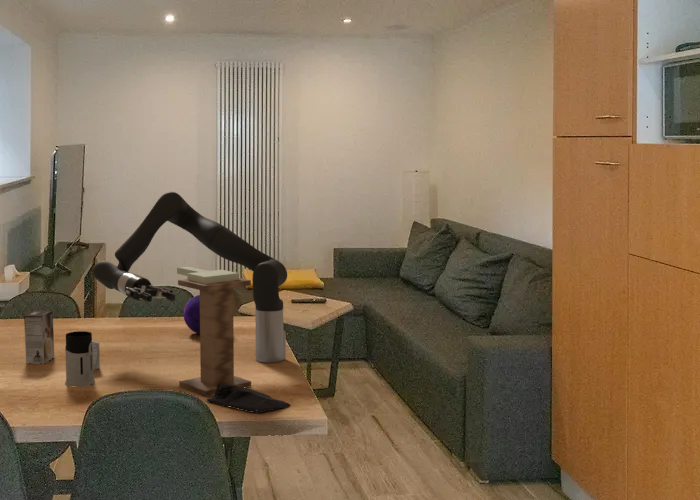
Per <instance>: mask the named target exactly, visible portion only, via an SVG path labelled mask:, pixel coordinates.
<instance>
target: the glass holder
mask: <svg viewBox="0 0 700 500" xmlns="http://www.w3.org/2000/svg"><path fill="white" fill-rule="evenodd" d="M92 341H93V333H92V332H90V331H85V330H84V331H83V330H81V331H80V330H79V331H77V330H76V331H72V332H71V331H70V332H68V333H66V334H65V349H64V350H65V375H66V376H65V379H66V380H65V383H64V385H65V386H66V385H68V386H67V387H70V386H83V387H89V386H92V385H94V384H95V383H96V380H95V378H94V377H95V376H94V371H95V370H96V369H95V368H96V367H97V365H98V361H99V353H100V345H99V346H98V344H97V343H96V342H97V341H96V342H92ZM93 343H94V344H95V345H96V347H97V360H96V363H95V366H94V368H93V349H92V344H93ZM91 384H92V385H91ZM88 385H89V386H88Z"/></svg>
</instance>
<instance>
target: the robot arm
mask: <svg viewBox="0 0 700 500" xmlns="http://www.w3.org/2000/svg"><path fill="white" fill-rule="evenodd" d="M167 222H169V223H171V224H173V225H175V226H177V227H179V228H181V229H182V230H185V232H188V233H189V234H191V235H192V236H193V237H194V238H195V239H196V240H198V241H199V243H201V244H202V245H204V246H205V247H206V248H207V249H209V250H210V251H212V252H213V253H215V254H216V255H217V256H219V257H221V258H223V259H224V260H226V261H227V260H228V261H229V262H231V263H235V264H238V265H240V266H243V267H245V268H247V269H249V270H250V271H252V278H251V279H252V280H251V281H252V297H253V302H254V305H255V361H256V362H258V363H259V362H260V363H271V364H272V363H278V362H282V361H283V360H287V359H286V358H287V356H286V354H287V351H286V349H287V347H286V346H287V345H286V342H287V341H286V340H287V337H286V336H287V335H286V334H287V333H286V331H285V330H284V301H283V299H281V298H280V294H279V291H280V290H279V287H280V286H282V285H283V284H284V283H285V282H286V281H287V278H288V271H287V268H286V267H285V265H284V264H283V263H282V262H281V261H279V260H277V259H275V258H274V257H271V256H270V255H268V254H266V253H264V252H262V251H261V250H259V249H257V248H255V246H253V245H252V244H250V243H249V242H248V241H246V240H244V238H241V237H240V236H239V235H238V234H236V233H235V232H233V231H232V230H231V229H229V228H228V227H226V226H224V225H223V224H220V223H219V222H217V221H215V220H212V219H210V218H207V217H205V216H204V215H202V214H200V213H199V212H198V211H196V209H194V208H193V207H192V206H191V205H190V204H189V203H188V202H187V201H186V200H185V199H184V198H183V197H182V196H181V195H180V194H179V193H178V192H176V191H168V192H167V191H166V192H164V193H163V194H162V195H161V196H160V197H159V198H158V200H157V201H156V202H155V204H154V205H153V206H152V208H151V209H150V211H149V212H148V214H147V215H146V217H145V218H144V219H143V220H142V222H141V223H140V224H139V225H138V227H137V228H136V229H135V230H134V231H133V233H131V235H130V236H129V237H128V238H127V239H126V240H125V241H124V242H123V243H122V244H121V245H120V246H119V248H118V249H117V250H116V251H115V253H114V257H115V259H116V260H117V262H118V263H117V265H115V264H114V263H112V262H110V261H108V260H100V261H98V262H96V264H94V266H93V268H92V275H93V278H94V279H95V280H97V282H99V283H101V285H103V286H105V288H107V289H109V290H113V289H114V290H116V291H117V292H119V293H122V294H124V295H125V296H127V297H129V298H131V299H133V300H136V301H137V302H138V301H140V302H141V301H145V302H148V303H152V300H153V299H158V300H161V299H166V300H167V301H170V302H174V301H176V300H175V299H176V294H175V293H174V290H173V289H171V288H168V287H165V286H163V285H161V286H155V285H152V283H151V281H150V280H149V279H148V278H146V277H143V276H141V275H138V274H136V273H132V272H129V271H130V270H131V268H132V266H133V264H134V263H136V261H137V260H139V258H140V257H141V256H142V255H143V254H144V253H145V251H146V250H147V249H148V247H149V246H150V245H151V242H152V240H153V239H154V236H155V235H156V234H157V232H158V231H159V229H161V228H162V226H163V225H164V224H165V223H167Z"/></svg>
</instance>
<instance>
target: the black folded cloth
mask: <svg viewBox="0 0 700 500" xmlns="http://www.w3.org/2000/svg"><path fill="white" fill-rule="evenodd" d="M206 401H207V402H208V401H209V403H213V402H214V404H216V403H217V404H216V405H219V404H220V405H219V406H222V405H224V406H223V407H227V406H231V407H230V408H232V407H235V408H239V409H243V410H247V411H253V412H252V413H254V412H258V413H263V412H267V411H268V412H269V411H273V410H272V409H276V410H281V409H280V408H282V409H286V408H288V407H290V406H289V405H291V404H290V403H289V402H286V401H284V400H281V399H280V400H279V399H276V398H274V397H271V396H270V395H268V394H265V393H264V392H261V391H257V390H255V389H252V388H249V387H246V388H243V387H239V386H236V385H231V384H224V383H218V384H217V388H216V392H215V395H214V396H213V397H210V398H207V399H206ZM285 407H286V408H285ZM235 408H234V409H235ZM243 410H242V411H243ZM247 411H246V412H247ZM262 411H263V412H262ZM258 413H257V414H258Z"/></svg>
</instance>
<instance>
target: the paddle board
mask: <svg viewBox="0 0 700 500" xmlns="http://www.w3.org/2000/svg"><path fill="white" fill-rule="evenodd" d="M176 274H177V275H181V276H187V279H188V280H189V281H194V282H198V283H203V284H208V283H217V282H225V281H233V280H239V278H240V273H239V272H235V271H230V270H226V269H216V270H214V269H213V270H206V269H204V268H203V269H202V268H197V267H191V266H177V267H176Z"/></svg>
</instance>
